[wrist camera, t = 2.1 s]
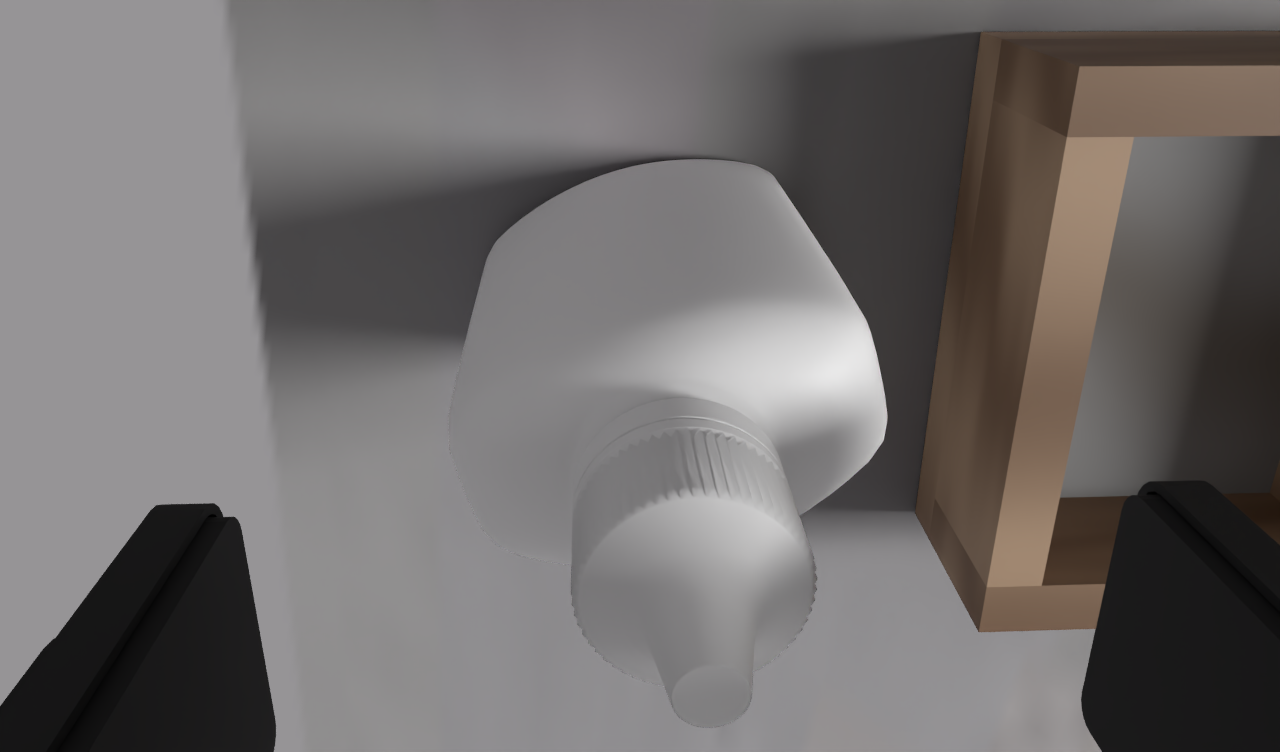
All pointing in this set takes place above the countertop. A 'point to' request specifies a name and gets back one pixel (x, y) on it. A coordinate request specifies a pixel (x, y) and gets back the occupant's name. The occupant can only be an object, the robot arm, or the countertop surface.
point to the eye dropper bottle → (667, 415)
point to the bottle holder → (1103, 308)
